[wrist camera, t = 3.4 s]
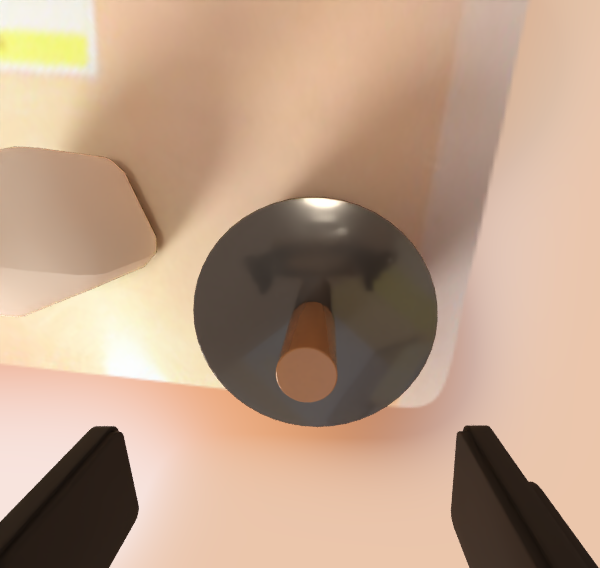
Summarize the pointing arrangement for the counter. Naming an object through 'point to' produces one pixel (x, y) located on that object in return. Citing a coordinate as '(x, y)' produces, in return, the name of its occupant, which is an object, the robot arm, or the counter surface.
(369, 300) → the lid
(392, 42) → the counter surface
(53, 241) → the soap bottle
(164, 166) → the counter surface
